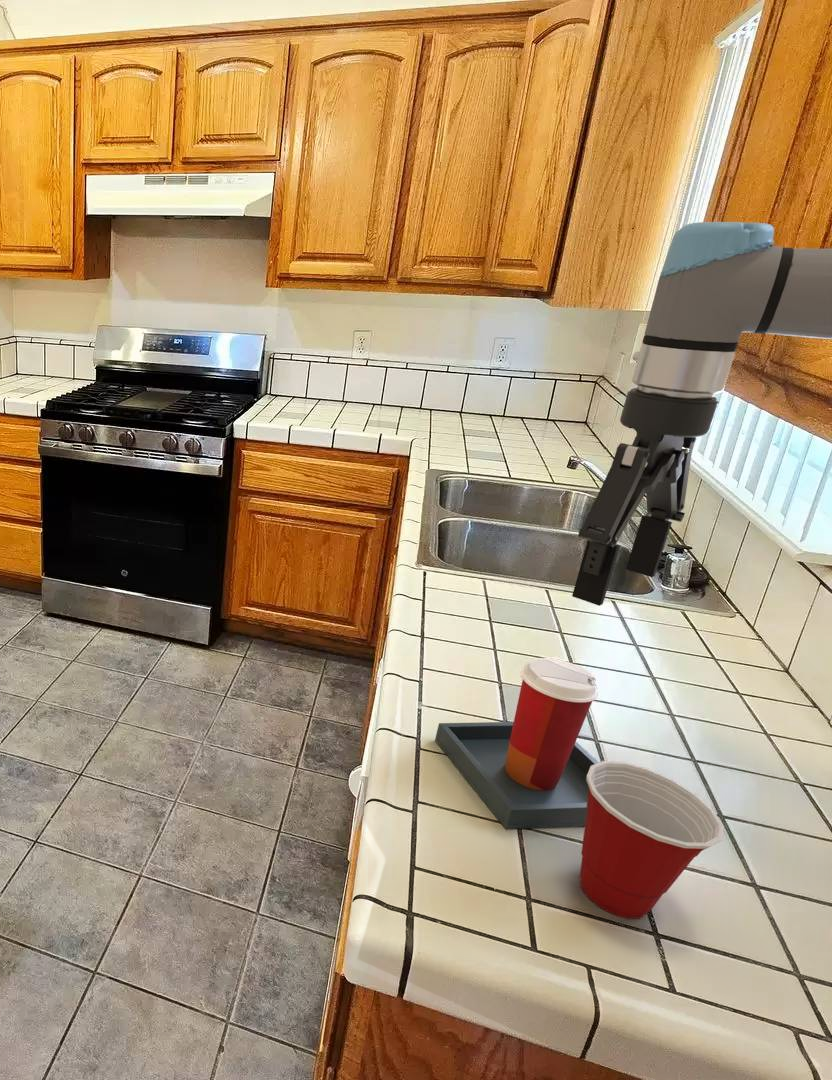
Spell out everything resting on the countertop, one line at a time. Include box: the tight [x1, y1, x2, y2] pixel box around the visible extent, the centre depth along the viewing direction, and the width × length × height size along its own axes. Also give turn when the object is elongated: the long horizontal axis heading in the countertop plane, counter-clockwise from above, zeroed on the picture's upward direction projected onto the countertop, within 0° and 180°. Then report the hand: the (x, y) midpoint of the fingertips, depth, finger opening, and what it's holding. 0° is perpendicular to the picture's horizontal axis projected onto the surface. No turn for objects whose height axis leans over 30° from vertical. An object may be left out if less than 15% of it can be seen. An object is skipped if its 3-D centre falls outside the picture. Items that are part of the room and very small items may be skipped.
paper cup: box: [505, 657, 600, 791], centre depth 86 cm, size 8×8×14 cm
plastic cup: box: [579, 760, 725, 919], centre depth 71 cm, size 11×11×12 cm
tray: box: [434, 721, 600, 830], centre depth 89 cm, size 16×16×3 cm
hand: (614, 586), depth 82 cm, fingers open, 13 cm apart
